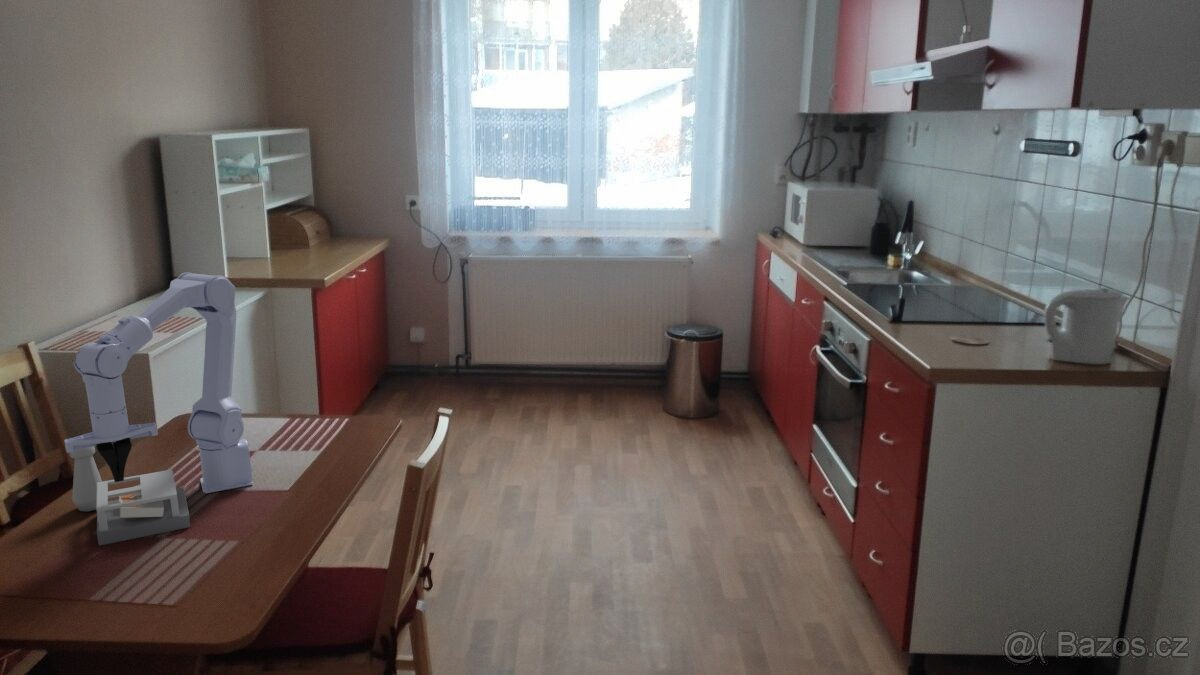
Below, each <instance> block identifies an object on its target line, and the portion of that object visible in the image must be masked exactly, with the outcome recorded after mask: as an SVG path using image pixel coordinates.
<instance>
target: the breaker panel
mask: <svg viewBox="0 0 1200 675" xmlns="http://www.w3.org/2000/svg"><path fill="white" fill-rule="evenodd" d="M173 471H174V470H173V469H166V470H160V471H156V472H149V473H144V474H137V475H134V476H133V475H132V476H126V477H124V481H120V482H115V481H114V479H110V480H102V482H97V509H96V513H97V516H96V518H97V519H96V536H97V542H98V546H104V545H109V544H115V543H119V542H124V541H127V540H133V539H138V538H143V537H149V536H153V535H159V534H163V533H167V532H173V531H178V530H182V529H188V528H191V523H190V522H191V521H190V513H189V508H188V503H187V498H186V494H185V489H184V487H178V488H176V481H175V476H174V472H173ZM135 481H140V482H139V483H140V484H141V486H137V485H134V486H135V487H134V486H131V487H125V488H119V489H114V490H109V486H112V485H118V484H123V483H129V482H135ZM135 493H141V494H142V499H138V500H133V501H127V502H122V503H120V502H119V496H124V495H130V494H135ZM112 498H118V499H114V500H109V499H112ZM160 500H163V504H164V513H163V517H127V518H120V508H123V507H128V506H133V505H138V504H144V503H149V502H154V501H160Z"/></svg>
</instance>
